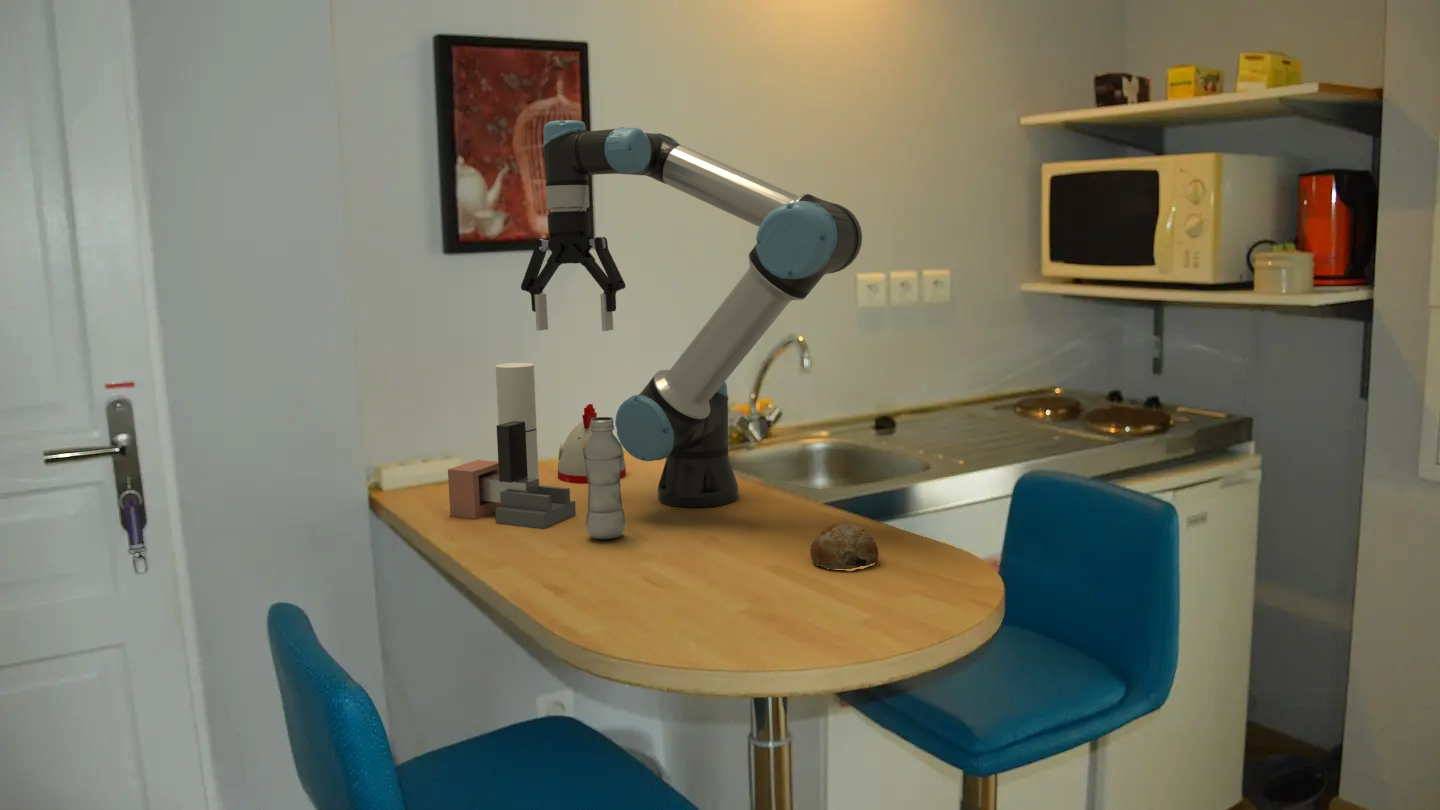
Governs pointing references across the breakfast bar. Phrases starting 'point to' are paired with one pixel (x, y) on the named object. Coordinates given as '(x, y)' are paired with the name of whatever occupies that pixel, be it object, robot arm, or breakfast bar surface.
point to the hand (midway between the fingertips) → (574, 330)
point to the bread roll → (843, 547)
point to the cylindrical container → (519, 405)
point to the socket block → (470, 489)
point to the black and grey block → (509, 465)
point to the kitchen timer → (578, 451)
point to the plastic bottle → (604, 481)
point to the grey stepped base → (535, 507)
